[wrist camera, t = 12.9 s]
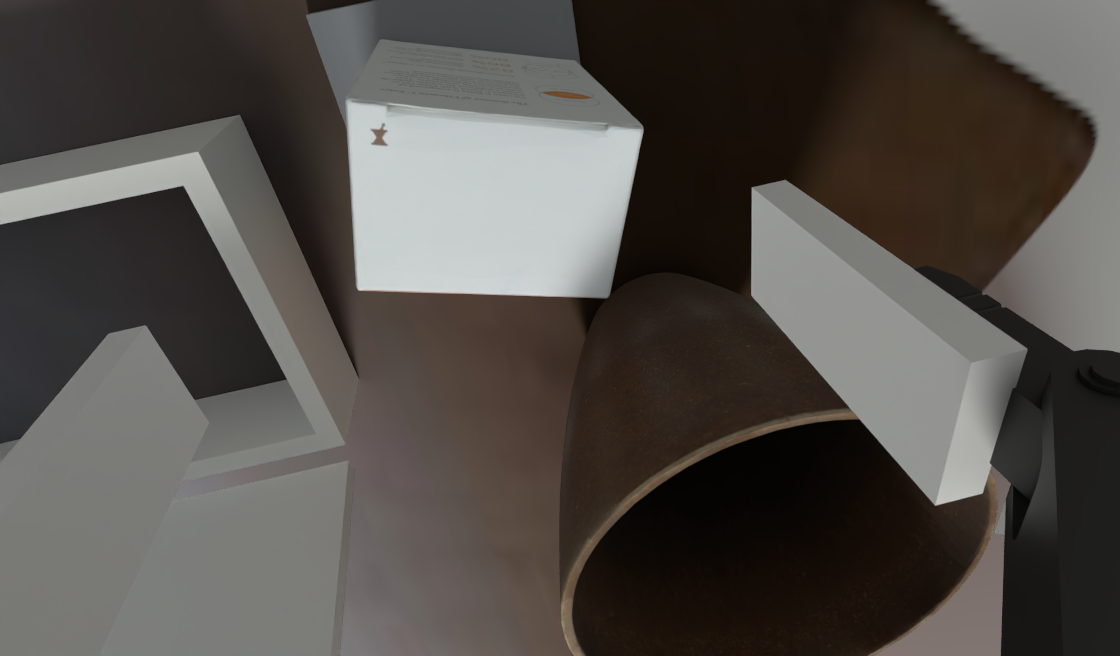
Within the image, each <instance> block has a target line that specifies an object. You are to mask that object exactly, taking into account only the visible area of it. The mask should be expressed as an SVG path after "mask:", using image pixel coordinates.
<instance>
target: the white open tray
mask: <svg viewBox="0 0 1120 656" xmlns="http://www.w3.org/2000/svg"><path fill="white" fill-rule="evenodd" d="M180 186H184V187H185V189H186V191H187V193H188V195H189V197H190V199H191V201H192V202H193V204H194V206H195V208H196V210H197V212H198V214H199V215H200V217H201V219H202V221H203V223H204V225H205V227H206V229H207V230H208V232H209V234H210V236H211V238H212V240H213V242H214V244H215V245H216V247H217V249H218V251H219V253H220V255H221V257H222V259H223V260H224V262H225V264H226V266H227V268H228V270H229V272H230V274H231V275H232V277H233V279H234V281H235V283H236V285H237V287H238V288H239V290H240V292H241V294H242V296H243V298H244V300H245V302H246V303H247V305H248V307H249V309H250V311H251V313H252V315H253V317H254V318H255V320H256V322H257V324H258V326H259V328H260V330H261V332H262V333H263V335H264V337H265V339H266V341H267V343H268V345H269V347H270V348H271V350H272V352H273V354H274V356H275V358H276V360H277V361H278V363H279V365H280V367H281V369H282V371H283V373H284V375H285V376H286V378H287V380H282V381H278V382H273V383H269V384H265V385H260V386H256V387H251V388H247V389H242V390H238V391H233V392H229V393H224V394H220V395H215V396H211V397H206V398H202V399H197V400H195V402H196V403H197V405H198V406H199V408H200V409H201V411H202V412H203V414H204V416H205V417H206V419H207V420H208V422H209V424H208V426H207V428H206V431H205V433H204V435H203V437H202V439H201V441H200V443H199V445H198V447H197V450H196V452H195V454H194V456H193V458H192V460H191V462H190V464H189V466H188V468H187V471H186V473H185V475H184V477H183V479H182V481H181V482H184V481H189V480H193V479H197V478H202V477H206V476H211V475H215V474H219V473H224V472H228V471H233V470H237V469H241V468H246V467H250V466H255V465H259V464H263V463H268V462H272V461H277V460H281V459H285V458H290V457H294V456H299V455H303V454H307V453H312V452H316V451H321V450H325V449H329V448H334V447H338V446H343V445H346V441H347V436H348V432H349V427H350V422H351V417H352V412H353V407H354V402H355V397H356V392H357V387H358V383H359V378H358V376H357V374H356V371H355V369H354V367H353V365H352V363H351V360H350V358H349V356H348V354H347V351H346V349H345V347H344V345H343V343H342V340H341V338H340V336H339V334H338V331H337V329H336V327H335V325H334V323H333V320H332V318H331V316H330V314H329V311H328V309H327V307H326V305H325V303H324V300H323V298H322V296H321V294H320V291H319V289H318V287H317V285H316V283H315V280H314V278H313V276H312V274H311V271H310V269H309V267H308V265H307V263H306V260H305V258H304V256H303V254H302V251H301V249H300V247H299V245H298V243H297V240H296V238H295V236H294V234H293V231H292V229H291V227H290V225H289V223H288V220H287V218H286V216H285V214H284V211H283V209H282V207H281V205H280V203H279V200H278V198H277V196H276V194H275V191H274V189H273V187H272V185H271V183H270V180H269V178H268V176H267V174H266V171H265V169H264V167H263V165H262V163H261V160H260V158H259V156H258V154H257V151H256V149H255V147H254V145H253V143H252V140H251V138H250V136H249V134H248V131H247V129H246V127H245V125H244V123H243V120H242V118H241V116H240V115H236V116H231V117H226V118H222V119H217V120H212V121H207V122H203V123H198V124H193V125H188V126H184V127H179V128H174V129H169V130H164V131H160V132H155V133H150V134H145V135H141V136H136V137H131V138H126V139H121V140H117V141H112V142H107V143H102V144H98V145H93V146H88V147H83V148H78V149H74V150H69V151H64V152H59V153H55V154H50V155H45V156H40V157H36V158H31V159H26V160H21V161H16V162H12V163H7V164H2V165H0V225H1V224H5V223H10V222H15V221H19V220H24V219H29V218H34V217H38V216H43V215H48V214H52V213H57V212H62V211H67V210H71V209H76V208H81V207H85V206H90V205H95V204H99V203H104V202H109V201H114V200H118V199H123V198H128V197H132V196H137V195H142V194H147V193H151V192H156V191H161V190H165V189H170V188H175V187H180ZM19 440H20V439H18V440H14V441H9V442H5V443H0V463H1V462H2V460H3V459H4V458H5V457H6V456H7V454H8V453H9V452H10V451H11V450H12V448H13V447H14V446H15V445H16V444H17V442H18V441H19Z"/></svg>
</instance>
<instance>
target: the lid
mask: <svg viewBox="0 0 1120 656" xmlns="http://www.w3.org/2000/svg"><path fill="white" fill-rule="evenodd" d="M354 475H355V470H354V468H353V467H352V465H351V464H350V462H349V461H345V462H340V463H336V464H332V465H327V466H323V467H318V468H314V469H310V470H305V471H301V472H297V473H292V474H288V475H283V476H279V477H275V478H270V479H266V480H261V481H257V482H253V483H248V484H244V485H240V486H235V487H231V488H226V489H222V490H218V491H213V492H209V493H204V494H200V495H196V496H191V497H187V498H183V499H178V500H174V501H172V502H171V504H170V506H169V509H168V511H167V513H166V515H165V517H164V519H163V521H162V523H161V525H160V527H159V530H158V532H157V534H156V536H155V538H154V540H153V542H152V544H151V546H150V549H149V551H148V553H147V555H146V557H145V559H144V561H143V563H142V565H141V568H140V570H139V572H138V574H137V576H136V578H135V580H134V582H133V584H132V586H131V589H130V591H129V593H128V595H127V597H126V599H125V601H124V603H123V605H122V608H121V610H120V612H119V614H118V616H117V618H116V620H115V622H114V624H113V627H112V629H111V631H110V633H109V635H108V637H107V639H106V641H105V643H104V645H103V648H102V650H101V652H100V654H99V656H340V650H341V637H342V625H343V612H344V600H345V587H346V575H347V562H348V550H349V537H350V525H351V512H352V500H353V487H354Z"/></svg>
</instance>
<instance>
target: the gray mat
mask: <svg viewBox="0 0 1120 656" xmlns="http://www.w3.org/2000/svg"><path fill="white" fill-rule="evenodd" d="M306 17H307V20H308V23H309V25H310V28H311V31H312V34H313V37H314V39H315V42H316V45H317V48H318V51H319V53H320V56H321V59H322V62H323V64H324V67H325V70H326V73H327V76H328V78H329V81H330V84H331V87H332V90H333V92H334V95H335V98H336V101H337V103H338V106H339V109H340V112H341V115H342V117H343V120H344V123H345V126H346V129H347V123H346V107H345V99H346V96H347V95H348V93H349V91H350V89H351V88H352V86H353V84H354V82H355V81H356V79H357V77H358V76H359V74H360V73H361V71H362V69H363V68H364V66H365V65H366V63H367V61H368V59H369V58H370V56H371V54H372V52H373V51H374V49H375V47H376V45H377V43H378V42H379V40H381V39H385V40H392V41H399V42H408V43H417V44H426V45H435V46H445V47H454V48H463V49H472V50H481V51H490V52H499V53H509V54H518V55H527V56H536V57H545V58H555V59H564V60H575V61H577V62H578V63H579V64H580V57H579V50H578V43H577V35H576V28H575V21H574V14H573V7H572V0H372V1H367V2H363V3H358V4H353V5H348V6H343V7H338V8H333V9H328V10H324V11H319V12H314V13H309V14H307V15H306ZM580 65H581V64H580Z"/></svg>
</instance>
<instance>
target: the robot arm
mask: <svg viewBox="0 0 1120 656" xmlns="http://www.w3.org/2000/svg"><path fill="white" fill-rule="evenodd" d="M751 295H752V297H753V298H754V299H755V300H756V301H757V302H758V303H759V305H760V306H761V307H762V308H763V309H764V310H765V311H766V313H767V314H768V315H769V316H770V317H771V318H772V319H773V321H774V322H775V323H776V324H777V325H778V326H779V327H780V329H781V330H782V331H783V332H784V333H785V334H786V335H787V337H788V338H789V339H790V340H791V341H792V342H793V343H794V345H795V346H796V347H797V348H798V349H799V350H800V351H801V353H802V354H803V355H804V356H805V357H806V358H807V359H808V361H809V362H810V363H811V364H812V365H813V366H814V367H815V369H816V370H817V371H818V372H819V373H820V374H821V375H822V377H823V378H824V379H825V380H826V381H827V382H828V384H829V385H830V386H831V387H832V388H833V389H834V390H835V392H836V393H837V394H838V395H839V396H840V397H841V398H842V400H843V401H844V402H845V403H846V404H847V405H848V406H849V408H850V409H851V410H852V411H853V412H854V413H855V414H856V416H857V417H858V418H859V419H860V420H861V421H862V422H863V424H864V425H865V426H866V427H867V428H868V429H869V430H870V432H871V433H872V434H873V435H874V436H875V437H876V438H877V440H878V441H879V442H880V443H881V444H882V445H883V446H884V448H885V449H886V450H887V451H888V452H889V453H890V454H891V456H892V457H893V458H894V459H895V460H896V461H897V462H898V464H899V465H900V466H901V467H902V468H903V469H904V470H905V472H906V473H907V474H908V475H909V476H910V477H911V479H912V480H913V481H914V482H915V483H916V484H917V485H918V487H919V488H920V489H921V490H922V491H923V492H924V493H925V495H926V496H927V497H928V498H929V499H930V500H931V501H932V503H933V504H934V505H935V506H936V505H940V504H944V503H947V502H951V501H955V500H959V499H963V498H967V497H971V496H975V495H979V494H983V491H984V487H985V484H986V481H987V478H988V475H989V471H990V468H991V465H992V466H993V467H994V468H995V469H996V470H998V471H999V472H1000V473H1001V474H1002V475H1003V476H1004V477H1005V478H1006V479H1007V480H1008V481H1009V482H1010V483H1011V486H1010V489H1009V492H1008V495H1007V498H1006V501H1005V503H1004V506H1003V509H1002V512H1001V515H1000V518H999V521H998V524H997V527H996V529H995V533H998V534H1002V535H1003V534H1004V532H1005V542H1004V544H1005V545H1004V577H1003V607H1002V638H1001V656H1120V353H1118V352H1114V351H1108V350H1088V349H1085V350H1080V351H1072V350H1071V349H1069V348H1068V347H1066V346H1065V345H1063V344H1062V343H1060V342H1059V341H1057V340H1056V339H1054V338H1053V337H1051V336H1049V335H1048V334H1046V333H1045V332H1043V331H1042V330H1040V329H1039V328H1037V327H1036V326H1034V325H1033V324H1031V323H1029V322H1028V321H1026V320H1025V319H1023V318H1022V317H1020V316H1019V315H1017V314H1016V313H1014V312H1013V311H1011V310H1010V309H1008V308H1006V307H1005V308H1002V307H1001V304H1000V303H999V302H997V301H996V300H994V299H993V298H991V297H990V296H988V295H982V291H980V290H979V289H977V288H976V287H974V286H973V285H971V284H970V283H968V282H967V281H965V280H963V279H962V278H960V277H959V276H956V275H953V274H950V273H948V272H945V271H942V270H939V269H936V268H933V267H930V266H924V267H920V268H916V269H912V268H911V267H910V266H908V265H907V264H905V263H904V262H902V261H901V260H900V259H898V258H897V257H895V256H894V255H892V254H891V253H890V252H888V251H887V250H885V249H884V248H882V247H881V246H879V245H878V244H877V243H875V242H874V241H872V240H871V239H869V238H868V237H867V236H865V235H864V234H862V233H861V232H859V231H858V230H857V229H855V228H854V227H852V226H851V225H849V224H848V223H847V222H845V221H844V220H842V219H841V218H839V217H838V216H837V215H835V214H834V213H832V212H831V211H829V210H828V209H827V208H825V207H824V206H822V205H821V204H819V203H818V202H816V201H815V200H814V199H812V198H811V197H809V196H808V195H806V194H805V193H804V192H802V191H801V190H799V189H798V188H796V187H795V186H794V185H792V184H791V183H789V182H788V181H786V180H783V181H778V182H774V183H770V184H765V185H761V186H756V187H752V253H751ZM208 424H209V422H208V420H207V419H206V417H205V416H204V414H203V412H202V411H201V409H200V408H199V406H198V405H197V403H196V402H195V400H194V399H193V397H192V396H191V394H190V393H189V391H188V389H187V388H186V386H185V385H184V383H183V382H182V380H181V379H180V377H179V376H178V374H177V373H176V371H175V369H174V368H173V366H172V365H171V363H170V362H169V360H168V359H167V357H166V356H165V354H164V353H163V351H162V350H161V348H160V346H159V345H158V343H157V342H156V340H155V339H154V337H153V336H152V334H151V333H150V331H149V330H148V328H147V326H146V325H144V326H140V327H135V328H131V329H127V330H122V331H118V332H113V333H109V334H108V335H107V336H106V337H105V338H104V340H103V341H102V342H101V343H100V344H99V346H98V347H97V348H96V349H95V350H94V352H93V353H92V354H91V355H90V356H89V358H88V359H87V360H86V361H85V362H84V364H83V365H82V366H81V367H80V368H79V369H78V371H77V372H76V373H75V374H74V375H73V377H72V378H71V379H70V380H69V381H68V383H67V384H66V385H65V386H64V387H63V389H62V390H61V391H60V392H59V393H58V395H57V396H56V397H55V398H54V399H53V401H52V402H51V403H50V404H49V405H48V407H47V408H46V409H45V410H44V411H43V413H42V414H41V415H40V416H39V417H38V419H37V420H36V421H35V422H34V423H33V425H32V426H31V427H30V428H29V429H28V430H27V432H26V433H25V434H24V435H23V436H22V438H21V439H20V440H19V441H18V442H17V444H16V445H15V446H14V447H13V448H12V450H11V451H10V452H9V453H8V454H7V456H6V457H5V458H4V459H3V460H2V462H1V463H0V656H99V654H100V652H101V650H102V648H103V645H104V643H105V641H106V639H107V637H108V635H109V633H110V631H111V629H112V627H113V624H114V622H115V620H116V618H117V616H118V614H119V612H120V610H121V608H122V605H123V603H124V601H125V599H126V597H127V595H128V593H129V591H130V589H131V586H132V584H133V582H134V580H135V578H136V576H137V574H138V572H139V570H140V568H141V565H142V563H143V561H144V559H145V557H146V555H147V553H148V551H149V549H150V546H151V544H152V542H153V540H154V538H155V536H156V534H157V532H158V530H159V527H160V525H161V523H162V521H163V519H164V517H165V515H166V513H167V511H168V509H169V506H170V504H171V502H172V500H173V498H174V496H175V494H176V492H177V490H178V487H179V485H180V483H181V481H182V479H183V477H184V475H185V473H186V471H187V468H188V466H189V464H190V462H191V460H192V458H193V456H194V454H195V452H196V450H197V447H198V445H199V443H200V441H201V439H202V437H203V435H204V433H205V431H206V428H207V426H208Z"/></svg>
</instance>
